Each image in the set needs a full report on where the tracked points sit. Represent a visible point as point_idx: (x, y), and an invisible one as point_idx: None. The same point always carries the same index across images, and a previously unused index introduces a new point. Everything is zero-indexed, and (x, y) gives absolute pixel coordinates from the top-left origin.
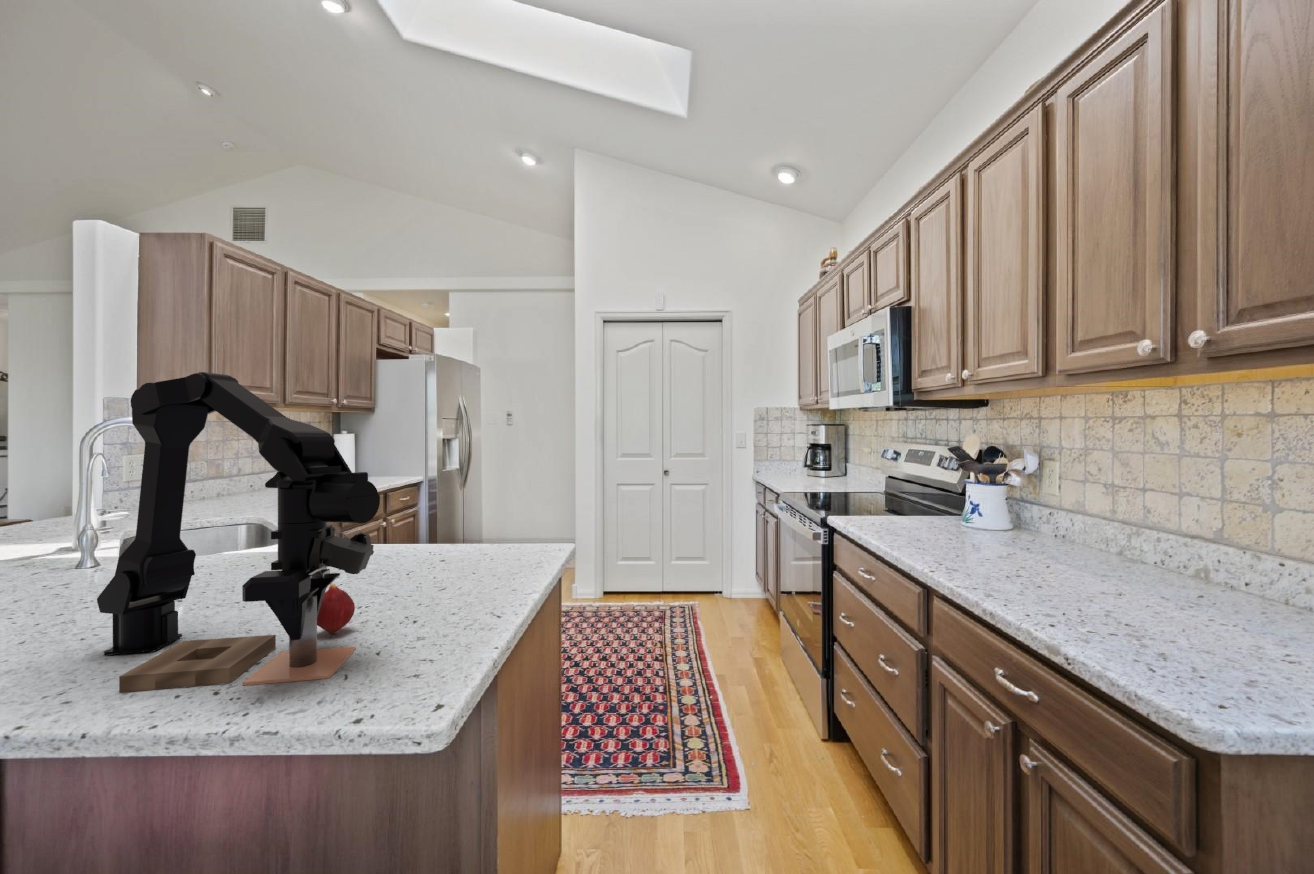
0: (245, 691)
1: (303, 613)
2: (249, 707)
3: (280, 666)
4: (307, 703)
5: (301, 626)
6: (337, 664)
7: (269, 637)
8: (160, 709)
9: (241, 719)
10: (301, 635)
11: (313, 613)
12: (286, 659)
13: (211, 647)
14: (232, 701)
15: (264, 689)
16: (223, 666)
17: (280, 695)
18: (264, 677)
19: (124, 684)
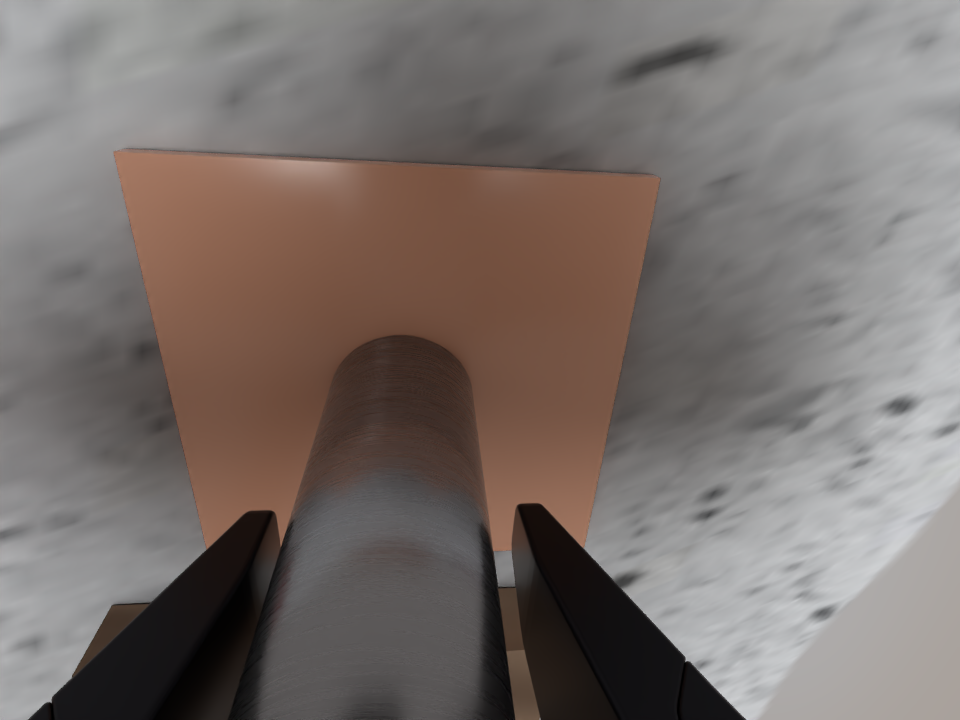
0: (650, 501)
1: (678, 692)
2: (836, 420)
3: None
4: (955, 180)
5: (595, 574)
6: (480, 181)
7: None
8: (691, 657)
9: (942, 401)
10: (532, 514)
11: (429, 619)
12: None
13: None
14: (735, 501)
15: (662, 442)
16: (524, 671)
17: (771, 349)
18: (558, 492)
19: None
